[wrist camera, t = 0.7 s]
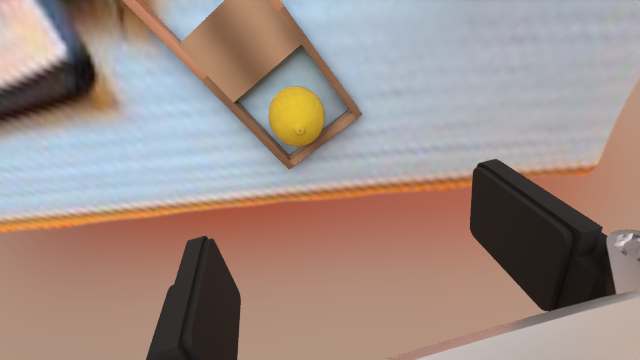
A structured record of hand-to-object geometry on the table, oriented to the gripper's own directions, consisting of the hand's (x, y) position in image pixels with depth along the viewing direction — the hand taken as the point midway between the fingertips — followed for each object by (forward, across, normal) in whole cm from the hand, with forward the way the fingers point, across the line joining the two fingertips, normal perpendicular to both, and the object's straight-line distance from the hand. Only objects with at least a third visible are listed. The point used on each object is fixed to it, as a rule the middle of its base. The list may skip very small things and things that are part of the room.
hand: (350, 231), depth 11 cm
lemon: (+26, 0, +3) cm, 26 cm away
